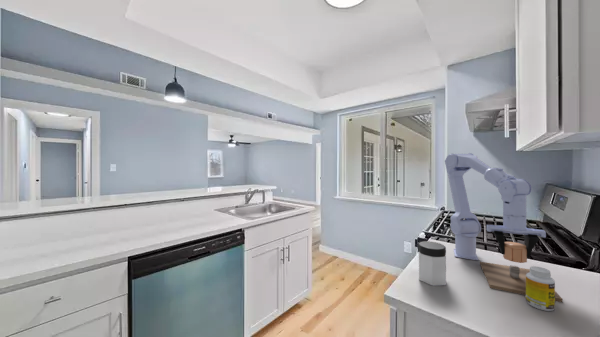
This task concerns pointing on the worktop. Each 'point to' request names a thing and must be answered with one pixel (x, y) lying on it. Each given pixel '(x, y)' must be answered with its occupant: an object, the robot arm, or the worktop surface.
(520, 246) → the brown rounded block
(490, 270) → the post board
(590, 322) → the worktop surface
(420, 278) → the jar
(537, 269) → the supplement bottle
